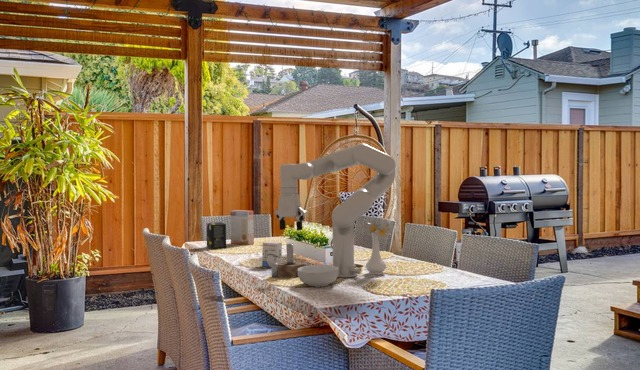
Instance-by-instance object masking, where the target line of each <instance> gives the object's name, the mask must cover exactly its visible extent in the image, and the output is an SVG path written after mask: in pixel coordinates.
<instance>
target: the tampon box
mask: <svg viewBox="0 0 640 370" xmlns="http://www.w3.org/2000/svg"><path fill="white" fill-rule="evenodd" d="M206 248H208V249H210V250H219V249H218V248H224V249H227V224H226V223H225V222H221V221H220V222H218V221H217V222H207V223H206Z"/></svg>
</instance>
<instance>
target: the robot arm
mask: <svg viewBox="0 0 640 370" xmlns="http://www.w3.org/2000/svg"><path fill="white" fill-rule="evenodd" d="M396 163H397V162H396V160H395V158H394V157H393V156H391V155H389V154H388V153H385V152H383V151H380V150H379V149H376V148H374V147H372V146H370V145H368V144H367V143H358V144H355V145H352V146H349V147H346V148H343V149H340V150H336V151H333V152H329V154H326V155H325V156H322V157H319V158H316V159H313V160H310V161H306V162H302V163H283V164H280V166H279V174H280V189H279V192H280V195H279V197H278V206H277V207H278V208H277V209H276V210H274V213H275V217H276V218H277V220H278V222H279V230H281V231H282V230H286V220H285V218H295V219H296V231H302V230H303V221H304V219H305V217H306V215H307V210H305V209H303V208H302V203H301V198H300V197H301V196H300V194H299V186H298V184H299V183H298V180H304V181H306V180H309V179H310V180H311V179H314V178H315V177H318V176H322V175H324V174H329V173H334V172H338V171H339V172H340V171H342V170H346V169H348V168H352V167H354V166H358V165H362V166H364V167H367V168H369V169H371V170H373V171H375V174H374V176H373V177H372V178H371V179H369V180H368V181H367V182H366V183H365V184H363V185H362V186H360V188H358V189H356V190H355V191H354V192H353V193H352V194H351V195H350V196H348V197H347V198H346V199H345V200H344V201H343V202H341V204H338V205H336V206H335V207H334V209H333V210H332V212H331V221H332V266H336V267H338V277H337V278H353V277H354V278H355V277H357V276H358V275H359V274H360V273H361V271H362V268H360V267H357V265H356V264H355V222H356V221H357V220H359V219H360V218H361V217H362V216H363V215H364V214H366V213H367V212H368V211H369V210H370V209H371V208H372V207H373V204H374V203H375V202H376V201H377V200H379V198H381V196H383V195H384V194H385V193H386V192H387V191H389V189H390V188H391V187H392V184H394V181H395V177H396V166H397V164H396Z"/></svg>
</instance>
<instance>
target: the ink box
mask: <svg viewBox="0 0 640 370" xmlns="http://www.w3.org/2000/svg"><path fill="white" fill-rule="evenodd" d="M282 243H283V242H282V241H274V240H273V241H272V240H271V241H270V240H267V241H264V242H262V247H261V248H262V251H261V252H262V255H261V256H262V263H261V264H262V267H268V268H271V264H272V263H278V264H279V263H283V262H282V260H283V256H282V254H283V251H282V249H283V247H282V246H283V245H282Z"/></svg>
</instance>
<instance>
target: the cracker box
mask: <svg viewBox="0 0 640 370" xmlns="http://www.w3.org/2000/svg"><path fill="white" fill-rule="evenodd" d="M229 212H230V244H231V245H242V244H244V245H243V246H250V244H251V245H254V244H255V239H254V237H255V234H254V233H255V231H254V229H255V228H254V224H255V223H254V222H255V221H254V210H248V209H247V210H244V209H232V210H230V211H229Z"/></svg>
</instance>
